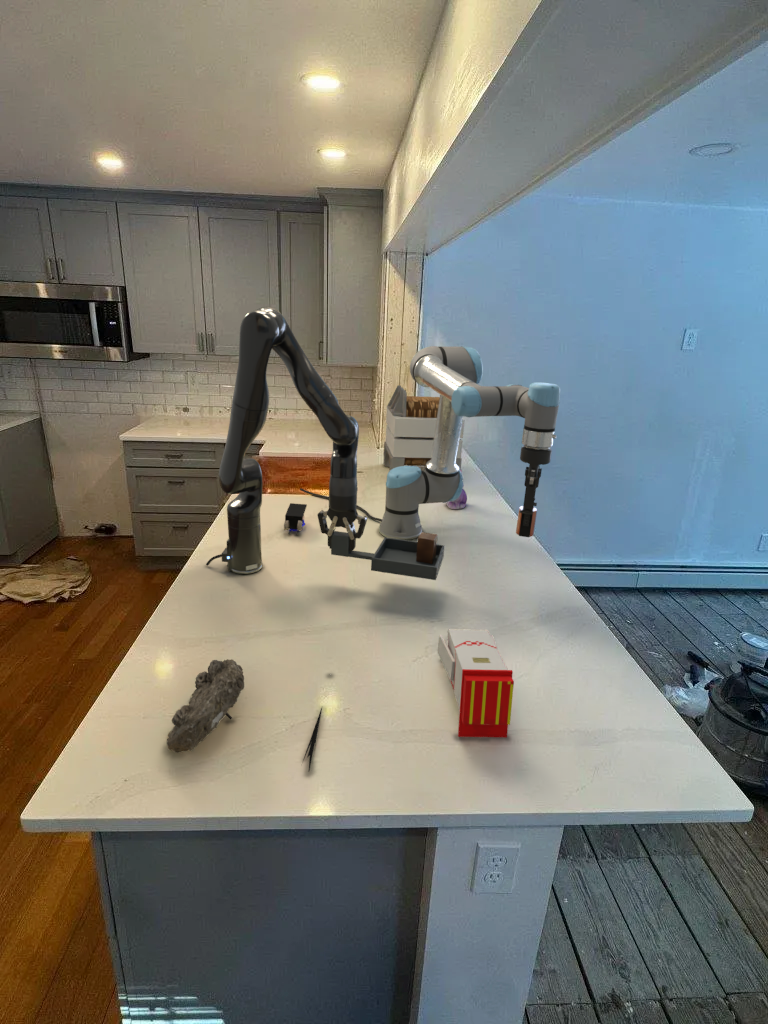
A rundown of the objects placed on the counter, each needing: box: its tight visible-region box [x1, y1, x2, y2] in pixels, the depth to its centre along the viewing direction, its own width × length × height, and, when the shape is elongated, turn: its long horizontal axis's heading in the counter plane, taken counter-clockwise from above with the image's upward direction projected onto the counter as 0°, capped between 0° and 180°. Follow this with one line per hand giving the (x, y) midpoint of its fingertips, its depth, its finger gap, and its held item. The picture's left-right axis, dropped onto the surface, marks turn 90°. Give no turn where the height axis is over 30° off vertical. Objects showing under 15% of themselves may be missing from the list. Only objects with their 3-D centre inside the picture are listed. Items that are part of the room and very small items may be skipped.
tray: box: [330, 530, 446, 581], centre depth 154 cm, size 30×15×6 cm, turn 77°
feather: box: [301, 673, 332, 771], centre depth 108 cm, size 2×28×2 cm
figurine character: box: [283, 502, 308, 536], centre depth 198 cm, size 7×8×15 cm
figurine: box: [446, 469, 468, 510], centre depth 228 cm, size 9×10×15 cm
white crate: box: [383, 384, 465, 471], centre depth 268 cm, size 34×33×41 cm
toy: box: [437, 628, 515, 738], centre depth 117 cm, size 12×13×30 cm
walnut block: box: [416, 531, 438, 564], centre depth 155 cm, size 4×4×7 cm
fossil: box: [166, 658, 245, 754], centre depth 106 cm, size 22×10×15 cm
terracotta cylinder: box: [515, 505, 538, 538], centre depth 149 cm, size 5×5×7 cm
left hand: (341, 548), depth 157 cm, fingers closed on tray, 5 cm apart
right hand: (524, 532), depth 150 cm, fingers closed on terracotta cylinder, 5 cm apart
